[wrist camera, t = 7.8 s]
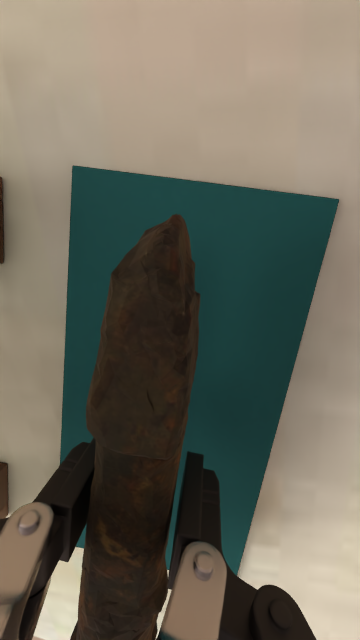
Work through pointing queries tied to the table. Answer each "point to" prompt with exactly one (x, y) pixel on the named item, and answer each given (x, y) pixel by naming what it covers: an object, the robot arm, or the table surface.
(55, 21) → the table surface
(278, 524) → the table surface
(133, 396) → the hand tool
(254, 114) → the table surface
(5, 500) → the rack
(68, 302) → the mat
